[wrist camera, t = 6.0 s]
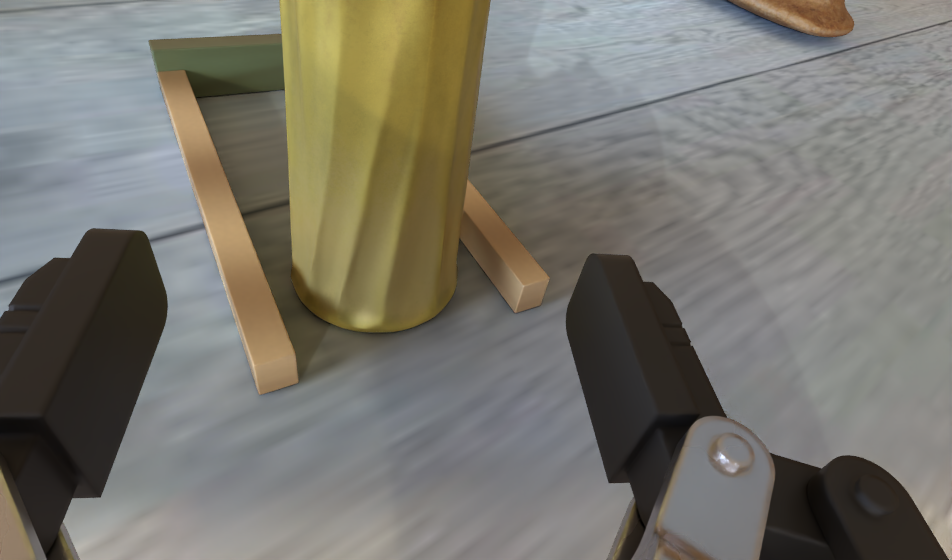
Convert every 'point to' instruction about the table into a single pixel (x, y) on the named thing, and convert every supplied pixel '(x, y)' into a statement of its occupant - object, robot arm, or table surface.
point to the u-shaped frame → (252, 303)
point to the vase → (379, 153)
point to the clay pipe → (804, 15)
